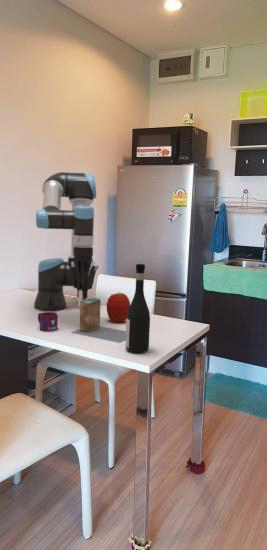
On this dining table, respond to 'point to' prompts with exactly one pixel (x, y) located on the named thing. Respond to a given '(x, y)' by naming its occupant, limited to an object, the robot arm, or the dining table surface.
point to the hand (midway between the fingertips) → (82, 306)
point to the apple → (118, 307)
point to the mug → (48, 321)
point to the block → (89, 315)
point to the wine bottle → (138, 317)
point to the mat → (105, 334)
